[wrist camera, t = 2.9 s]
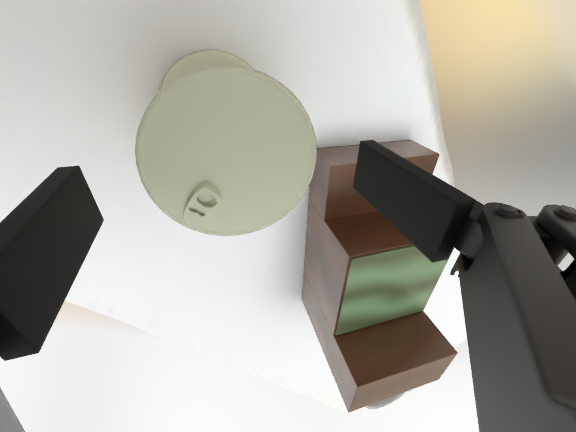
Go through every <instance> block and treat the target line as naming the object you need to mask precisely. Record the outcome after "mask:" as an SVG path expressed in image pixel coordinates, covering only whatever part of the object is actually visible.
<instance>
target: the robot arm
mask: <svg viewBox="0 0 576 432" xmlns="http://www.w3.org/2000/svg"><path fill="white" fill-rule="evenodd" d="M353 188H354V189H355V190H356V191H357V192H358V193H359V194H360V195H362V196H363V197H364V198H365V199H366V200H367V201H368V202H369V203H370V204H371V205H372V206H373V207H374V208H375V209H376V210H377V211H378V212H379V213H380V214H382V215H383V216H384V217H385V218H386V219H387V220H388V221H389V222H390V223H391V224H392V225H393V226H394V227H395V228H396V229H397V230H398V231H399V232H400V233H401V234H403V235H404V236H405V237H406V238H407V239H408V240H409V241H410V242H411V243H412V244H413V245H414V246H415V247H416V248H417V249H418V250H419V251H420V252H421V253H422V254H424V255H425V256H426V257H427V258H428V259H429V260H430V261H431V262H432V263H434V262H438V261H442V260H447V259H448V258H449V256H450V254H451V252H452V250H453V248H454V247H455V248H456V249H457V250H458V251H460V252H461V253H460V255H459V256H458V258H457V260H456V262H455V264H454V266H453V268H452V270H451V274H450V275H454V273H455V272H456V271H458V270H459V275H458V277H459V278H460V286H461V293H462V301H463V309H464V317H465V324H466V332H467V340H468V346H469V355H470V363H471V370H472V378H473V385H474V393H475V401H476V408H477V416H478V424H479V432H576V209H574V208H571V207H567V206H564V205H562V206H559V205H546V206H544V207H543V209H542V210H541V212H540V213H539V215H538V216H527V215H526V214H525V213H524V212H523V211H522V210H519V209H517V208H515V207H512V206H510V205H506V204H502V203H487V204H485V205H483V204H481V203H480V202H478V201H476V200H475V199H473V198H472V197H470V196H468V195H466V194H465V193H463V192H461V191H460V190H458V189H456V188H454V187H453V186H451V185H449V184H448V183H446V182H444V181H442V180H441V179H439V178H437V177H436V176H434V175H432V174H430V173H429V172H427V171H425V170H423V169H422V168H420V167H418V166H417V165H415V164H413V163H411V162H410V161H408V160H406V159H405V158H403V157H401V156H399V155H398V154H396V153H394V152H393V151H391V150H389V149H387V148H386V147H384V146H382V145H380V144H379V143H377V142H375V141H374V140H368V141H360V146H359V152H358V157H357V163H356V169H355V175H354V181H353ZM103 221H104V219H103V217H102V215H101V213H100V211H99V208H98V206H97V204H96V202H95V200H94V197H93V195H92V193H91V191H90V189H89V187H88V184H87V182H86V180H85V178H84V176H83V173H82V171H81V169H80V167H79V166H71V167H60V168H57V169H56V170H55V171H54V172H52V173H51V174H50V175H49V176H48V177H47V178H46V179H45V180H44V181H43V182H42V183H41V184H40V185H39V186H38V187H37V188H36V189H35V190H34V191H33V192H32V193H31V194H30V195H29V196H28V197H26V198H25V199H24V200H23V201H22V202H21V203H20V204H19V205H18V206H17V207H16V208H15V209H14V210H13V211H12V212H11V213H10V214H9V215H8V216H7V217H6V218H5V219H4V220H3V221H2V222H0V357H1V358H2V359H4V360H10V359H14V358H18V357H23V356H27V355H32V354H36V353H39V351H40V349H41V347H42V345H43V343H44V341H45V339H46V337H47V334H48V333H49V330H50V328H51V327H52V325H53V322H54V320H55V318H56V316H57V314H58V312H59V310H60V308H61V306H62V304H63V302H64V300H65V298H66V296H67V294H68V292H69V290H70V288H71V286H72V284H73V282H74V280H75V278H76V276H77V274H78V272H79V270H80V268H81V266H82V264H83V262H84V259H85V257H86V255H87V253H88V251H89V249H90V247H91V245H92V243H93V241H94V239H95V237H96V235H97V233H98V231H99V229H100V227H101V225H102V223H103ZM568 252H569V253H570V254H571V255H572V256H573V258H574V261H573V262H572V263H571V264H570V265H569V267H568V268H567V269H566V270H564V271H562V270H561V269H560V268H559V267H558V265H559V264H560V262H561V261H562V260H563V258H564V257H565V256H566V255H567V254H568ZM0 432H25V431H24V429H23V427H22V425H21V424H20V422H19V420H18V418H17V416H16V415H15V413H14V411H13V410H12V408H11V406H10V404H9V402H8V401H7V399H6V397H5V395H4V394H3V392H2V390H1V388H0Z"/></svg>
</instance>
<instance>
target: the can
mask: <svg viewBox="0 0 576 432" xmlns="http://www.w3.org/2000/svg"><path fill="white" fill-rule="evenodd" d="M135 155H136V164H137V168H138V172H139V175H140V178H141V181H142V183H143V185H144V187H145V189H146V191H147V193H148V194H149V196H150V197H151V199H152V200H153V201H154V203H155V204H156V205H157V206H158V207H159V208H160V209H161V210H162V211H163V212H164V213H165V214H166V215H168V216H169V217H170V218H172V219H173V220H175V221H176V222H178V223H180V224H181V225H183V226H185V227H188V228H190V229H193V230H195V231H199V232H202V233H206V234H211V235H220V236H234V235H242V234H247V233H251V232H254V231H258V230H260V229H263V228H265V227H267V226H269V225H271V224H273V223H275V222H276V221H278V220H280V219H281V218H282V217H284V216H285V215H286V214H287V213H289V212H290V211H291V210H292V209H293V208H294V207H295V206H296V204H297V203H298V202H299V201H300V199H301V198H302V197H303V195H304V194H305V192H306V190H307V188H308V186H309V184H310V182H311V179H312V177H313V173H314V170H315V164H316V155H317V147H316V138H315V133H314V129H313V126H312V123H311V121H310V118H309V116H308V114H307V112H306V110H305V109H304V107H303V106H302V104H301V103H300V101H299V100H298V99H297V98H296V96H295V95H294V94H293V93H292V92H291V91H290V90H289V89H288V88H286V87H285V86H284V85H283V84H281V83H280V82H278V81H277V80H275V79H274V78H272V77H270V76H268V75H266V74H264V73H262V72H259V71H256V70H254V69H253V68H252V67H251V66H249V65H248V64H247V63H246V62H244V61H243V60H242V59H240V58H238V57H236V56H234V55H232V54H230V53H227V52H223V51H218V50H202V51H197V52H193V53H191V54H188V55H186V56H184V57H182V58H181V59H180V60H178V61H177V62H176V63H175V64H173V66H172V67H171V68H170V69H169V70H168V72H167V73H166V75H165V77H164V79H163V81H162V83H161V86H160V90H159V93H158V94H157V95H156V97H155V98H154V99H153V100H152V102H151V103H150V104H149V106H148V108H147V109H146V111H145V113H144V115H143V117H142V119H141V122H140V124H139V128H138V132H137V137H136V145H135Z"/></svg>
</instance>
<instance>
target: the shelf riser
mask: <svg viewBox="0 0 576 432" xmlns="http://www.w3.org/2000/svg"><path fill="white" fill-rule="evenodd" d="M379 144H380V145H382V146H384V147H386V148H387V149H389V150H391V151H393V152H394V153H396V154H398V155H399V156H401V157H403V158H405V159H406V160H408V161H410V162H411V163H413V164H415V165H417V166H418V167H420V168H422V169H423V170H425V171H427V172H429V173H430V174H433V171H434V168H435V166H436V163H437V160H438V157H439V154H438V153H436V152H434V151H432V150H430V149H428V148H426V147H424V146H422V145H420V144H418V143H416V142H414V141H412V140H405V141H394V142H383V143H379ZM359 146H360V145H351V146H340V147H329V148H319V149H317V155H316V164H315V170H314V173H313V177H312V179H311V182H310V193H309V207H308V220H307V234H306V248H305V262H304V276H303V290H302V301H303V303H304V306H305V308H306V310H307V313H308V315H309V318H310V320H311V323H312V325H313V327H314V330H315V332H316V335H317V337H318V340H319V342H320V344H321V347H322V349H323V352H324V354H325V357H326V359H327V361H328V364H329V366H330V369H331V371H332V374H333V376H334V378H335V381H336V383H337V386H338V388H339V391H340V393H341V396H342V398H343V400H344V403H345V405H346V408H347V410H348V412H351V411H354V410H356V409H359V408H362V407H365V406H367V405H370V404H373V403H376V402H378V401H381V400H384V399H386V398H389V397H392V396H395V395H397V394H400V393H403V392H406V391H408V390H411V389H414V388H416V387H419V386H422V385H424V384H427V383H430V382H433V381H436V380H438V379H439V378H440V377H441V375H442V374H443V373H444V371H445V369H446V368H447V367H448V366H449V364H450V363H451V361H452V360H453V359H454V357H455V356H456V354H457V351H456V350H455V349H454V348H453V347H452V345H451V344H450V343H449V342H448V341H447V339H446V338H445V337H444V336H443V335H442V333H441V332H440V331H439V330H438V328H437V327H436V326H435V325H434V324H433V322H432V321H431V320H430V319H429V318H428V316H427V315H426V314H425V313H424V312H423V310H424V308H425V306H426V304H427V302H428V300H429V297H430V295H431V293H432V291H433V289H434V287H435V285H436V283H437V281H438V279H439V277H440V275H441V273H442V271H443V269H444V267H445V265H446V263H447V261H448V259H449V258H448V259H447V260H442V261H438V262H434V263H432V262H431V261H430V260H429V259H428V258H427V257H426V256H425V255H424V254H422V253H421V252H420V251H419V250H418V249H417V248H416V247H415V246H414V245H413V244H412V243H411V242H410V241H409V240H408V239H407V238H406V237H405V236H404V235H403V234H401V233H400V232H399V231H398V230H397V229H396V228H395V227H394V226H393V225H392V224H391V223H390V222H389V221H388V220H387V219H386V218H385V217H384V216H383V215H382V214H380V213H379V212H378V211H377V210H376V209H375V208H374V207H373V206H372V205H371V204H370V203H369V202H368V201H367V200H366V199H365V198H364V197H363V196H362V195H360V194H359V193H358V192H357V191H356V190H355V189H354V188H353V181H354V175H355V169H356V163H357V157H358V152H359ZM453 249H454V248H453ZM452 251H453V250H452ZM451 253H452V252H451ZM450 255H451V254H450ZM449 257H450V256H449Z"/></svg>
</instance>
